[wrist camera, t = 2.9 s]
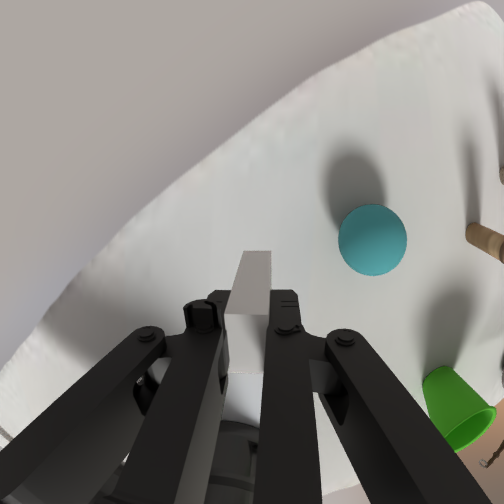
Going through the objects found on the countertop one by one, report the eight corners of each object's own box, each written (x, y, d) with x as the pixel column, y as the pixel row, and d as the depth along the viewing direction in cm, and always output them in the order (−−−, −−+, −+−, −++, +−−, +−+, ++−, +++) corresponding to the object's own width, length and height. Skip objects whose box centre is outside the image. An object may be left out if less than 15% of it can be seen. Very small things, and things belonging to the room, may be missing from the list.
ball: (330, 261, 27) (344, 289, 21) (333, 198, 25) (350, 210, 19) (387, 260, 26) (412, 286, 21) (393, 200, 25) (422, 213, 19)
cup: (472, 357, 30) (508, 406, 20) (438, 402, 33) (463, 453, 22) (433, 350, 30) (471, 408, 19) (397, 399, 33) (420, 459, 22)
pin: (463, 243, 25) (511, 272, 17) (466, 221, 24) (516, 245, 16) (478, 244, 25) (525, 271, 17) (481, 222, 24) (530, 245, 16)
